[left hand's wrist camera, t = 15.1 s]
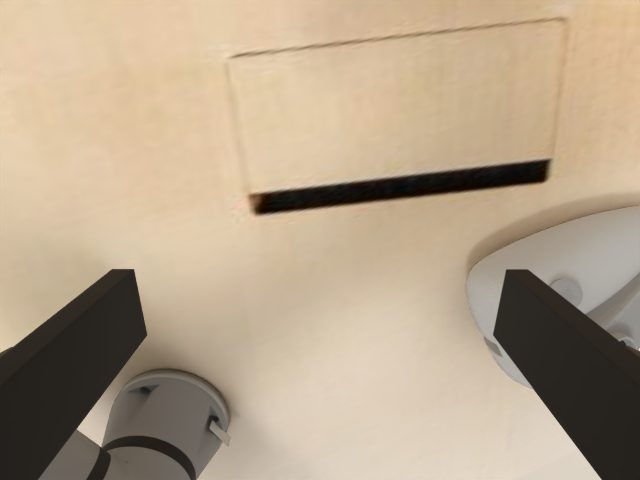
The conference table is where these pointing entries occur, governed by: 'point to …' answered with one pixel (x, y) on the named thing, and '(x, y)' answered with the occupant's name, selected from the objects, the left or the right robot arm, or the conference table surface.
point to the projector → (569, 275)
